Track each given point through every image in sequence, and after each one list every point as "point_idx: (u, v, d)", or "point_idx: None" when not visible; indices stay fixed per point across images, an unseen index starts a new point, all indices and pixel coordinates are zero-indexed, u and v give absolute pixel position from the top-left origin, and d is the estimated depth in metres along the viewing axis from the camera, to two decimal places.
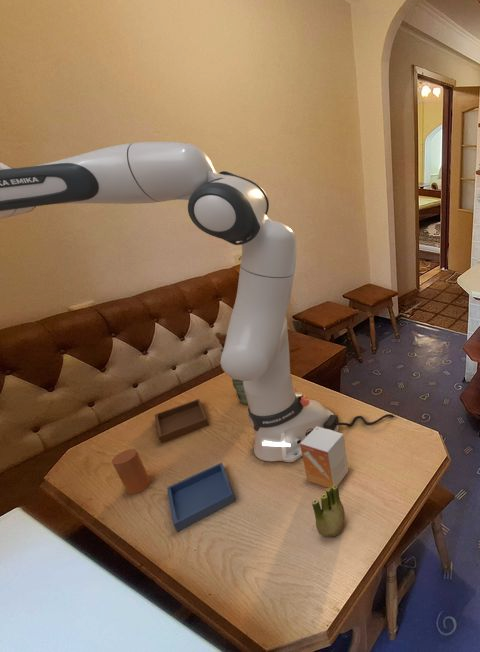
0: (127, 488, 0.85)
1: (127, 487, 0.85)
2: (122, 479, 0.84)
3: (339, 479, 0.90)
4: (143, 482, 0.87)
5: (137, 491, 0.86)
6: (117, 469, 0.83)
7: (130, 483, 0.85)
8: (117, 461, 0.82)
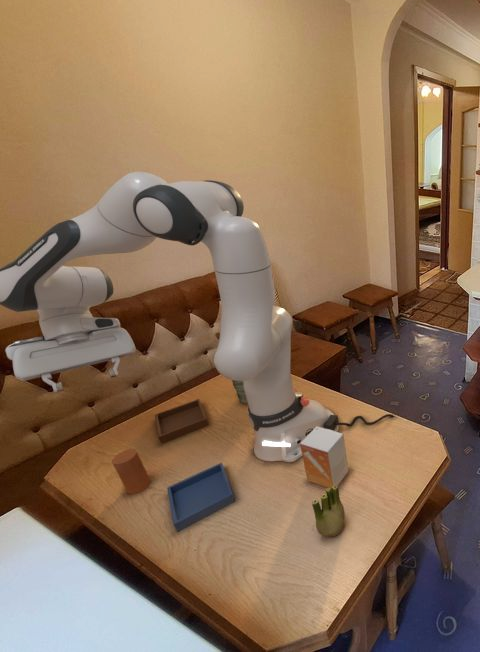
0: (127, 488, 0.85)
1: (127, 487, 0.85)
2: (122, 479, 0.84)
3: (339, 479, 0.90)
4: (143, 482, 0.87)
5: (137, 491, 0.86)
6: (117, 469, 0.83)
7: (130, 483, 0.85)
8: (117, 461, 0.82)
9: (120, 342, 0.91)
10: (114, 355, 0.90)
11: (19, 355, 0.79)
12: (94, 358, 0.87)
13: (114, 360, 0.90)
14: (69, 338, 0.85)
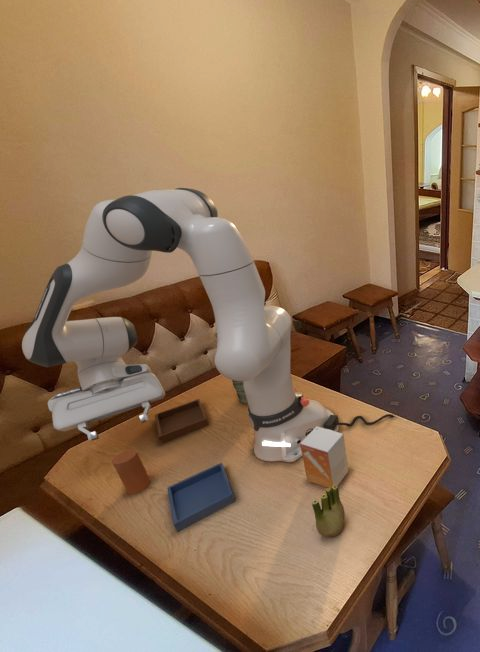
0: (127, 488, 0.85)
1: (127, 487, 0.85)
2: (122, 479, 0.84)
3: (339, 479, 0.90)
4: (143, 482, 0.87)
5: (137, 491, 0.86)
6: (117, 469, 0.83)
7: (130, 483, 0.85)
8: (117, 461, 0.82)
9: (149, 386, 0.93)
10: (143, 400, 0.92)
11: (58, 407, 0.84)
12: (124, 404, 0.89)
13: (144, 405, 0.92)
14: (101, 387, 0.88)
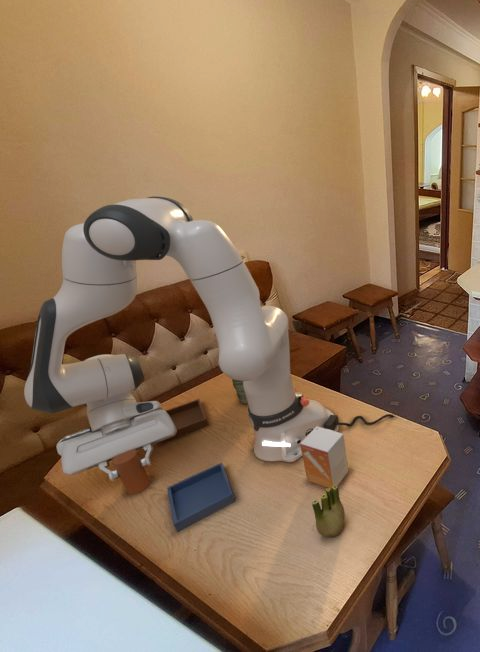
0: (127, 488, 0.85)
1: (127, 487, 0.85)
2: (122, 479, 0.84)
3: (339, 479, 0.90)
4: (143, 482, 0.87)
5: (137, 491, 0.86)
6: (117, 469, 0.83)
7: (130, 483, 0.85)
8: (117, 461, 0.82)
9: (161, 424, 0.90)
10: (155, 439, 0.89)
11: (67, 450, 0.80)
12: (136, 445, 0.86)
13: (146, 448, 0.87)
14: (112, 427, 0.85)
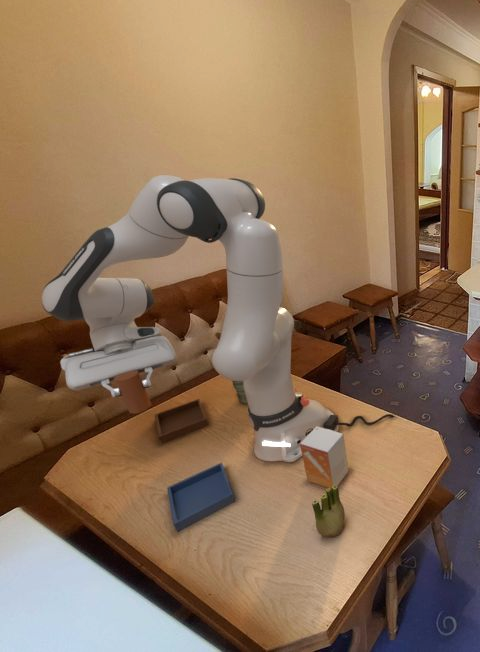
0: (129, 407, 0.88)
1: (128, 406, 0.87)
2: (124, 397, 0.86)
3: (339, 479, 0.90)
4: (144, 403, 0.89)
5: (138, 411, 0.89)
6: (119, 386, 0.85)
7: (132, 401, 0.87)
8: (119, 378, 0.85)
9: (161, 349, 0.93)
10: (156, 363, 0.91)
11: (71, 366, 0.83)
12: (137, 366, 0.89)
13: (147, 370, 0.90)
14: (114, 348, 0.87)
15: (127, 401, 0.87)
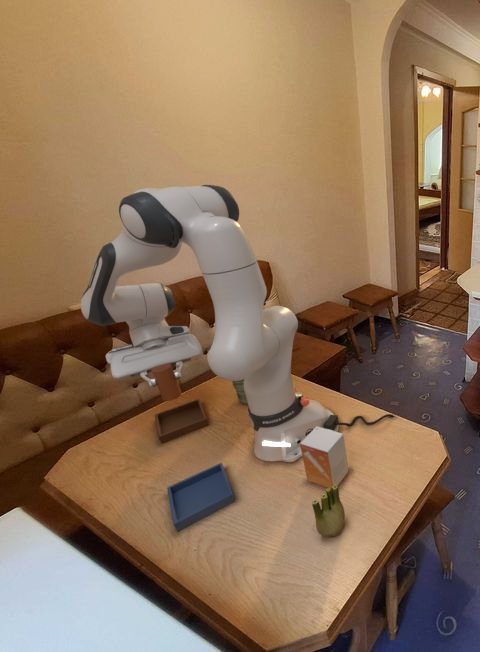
0: (163, 395, 1.01)
1: (163, 394, 1.01)
2: (159, 387, 1.00)
3: (339, 479, 0.90)
4: (176, 392, 1.03)
5: (171, 399, 1.02)
6: (156, 377, 0.98)
7: (166, 390, 1.00)
8: (156, 370, 0.98)
9: (190, 346, 1.06)
10: (186, 357, 1.04)
11: (115, 359, 0.96)
12: (170, 360, 1.02)
13: (178, 364, 1.03)
14: (150, 344, 1.01)
15: (162, 390, 1.00)
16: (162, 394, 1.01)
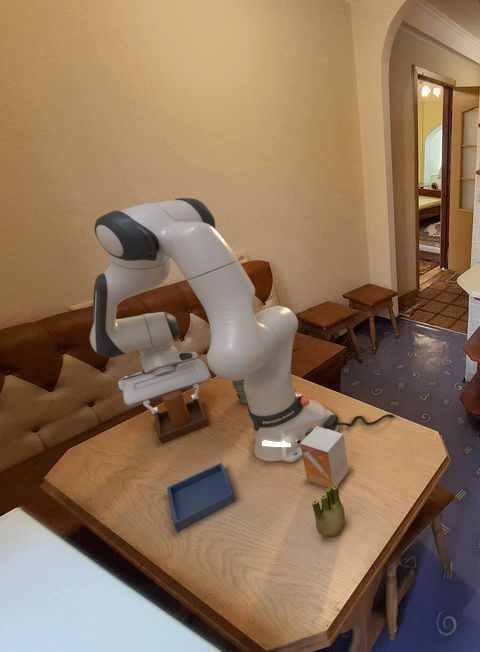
0: (173, 421, 1.05)
1: (173, 420, 1.05)
2: (170, 413, 1.04)
3: (339, 479, 0.90)
4: (185, 417, 1.06)
5: (181, 424, 1.06)
6: (166, 404, 1.02)
7: (176, 417, 1.04)
8: (166, 398, 1.02)
9: (198, 371, 1.10)
10: (194, 382, 1.08)
11: (127, 386, 1.00)
12: (179, 385, 1.06)
13: (195, 386, 1.08)
14: (160, 370, 1.04)
15: (172, 417, 1.04)
16: (172, 420, 1.05)
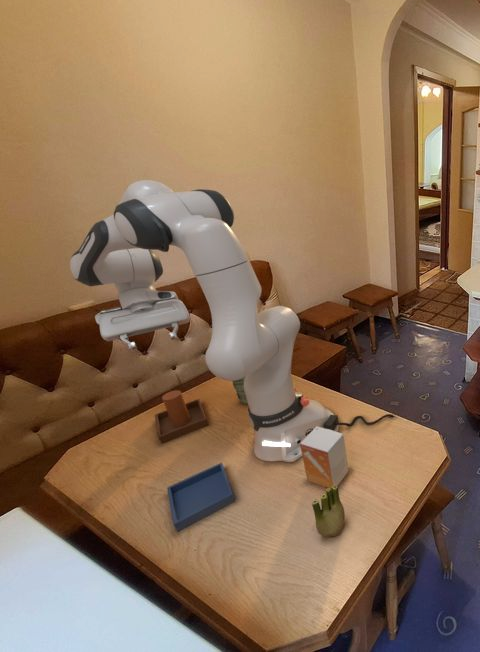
0: (173, 421, 1.05)
1: (173, 420, 1.05)
2: (170, 413, 1.04)
3: (339, 479, 0.90)
4: (185, 417, 1.06)
5: (181, 424, 1.06)
6: (166, 404, 1.02)
7: (176, 417, 1.04)
8: (166, 398, 1.02)
9: (177, 310, 1.10)
10: (173, 321, 1.08)
11: (104, 320, 1.00)
12: (157, 322, 1.06)
13: (173, 325, 1.08)
14: (138, 307, 1.04)
15: (172, 417, 1.04)
16: (172, 420, 1.05)
